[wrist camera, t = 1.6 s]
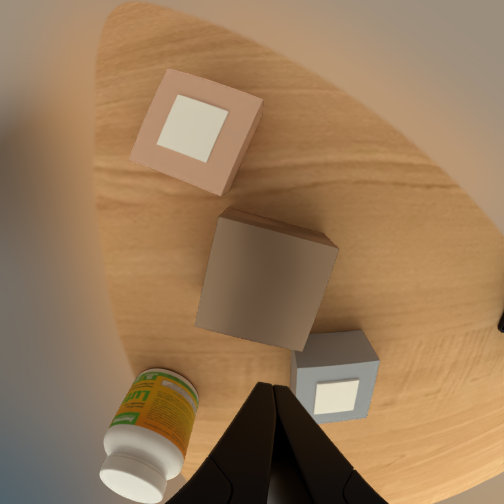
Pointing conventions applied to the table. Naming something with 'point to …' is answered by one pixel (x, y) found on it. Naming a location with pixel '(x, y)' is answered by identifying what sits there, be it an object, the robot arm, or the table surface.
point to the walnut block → (264, 280)
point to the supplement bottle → (149, 435)
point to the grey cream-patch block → (335, 375)
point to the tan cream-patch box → (197, 131)
